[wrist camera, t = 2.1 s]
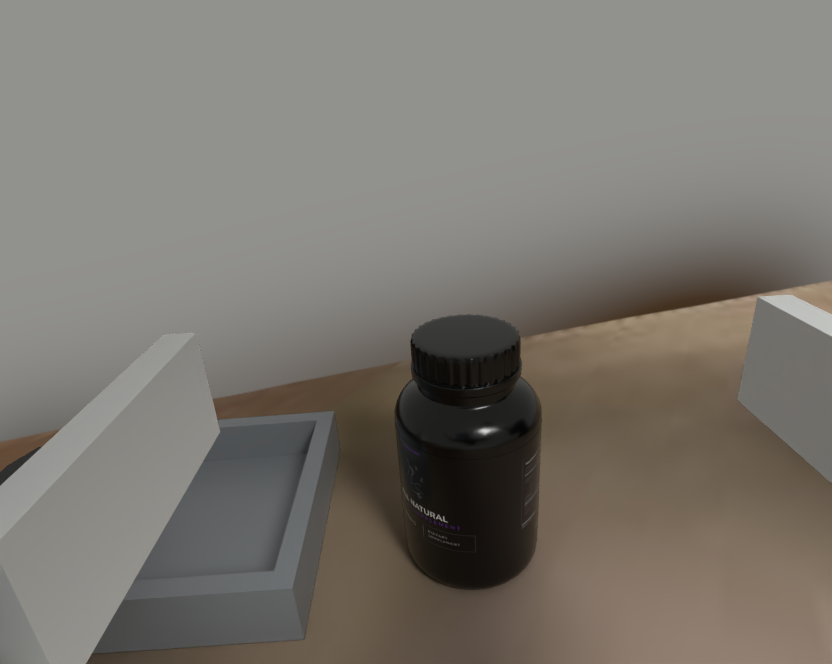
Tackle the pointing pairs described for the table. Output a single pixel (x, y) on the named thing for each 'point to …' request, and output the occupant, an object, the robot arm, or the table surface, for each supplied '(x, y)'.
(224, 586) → the tray
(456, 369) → the supplement bottle
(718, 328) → the table surface
